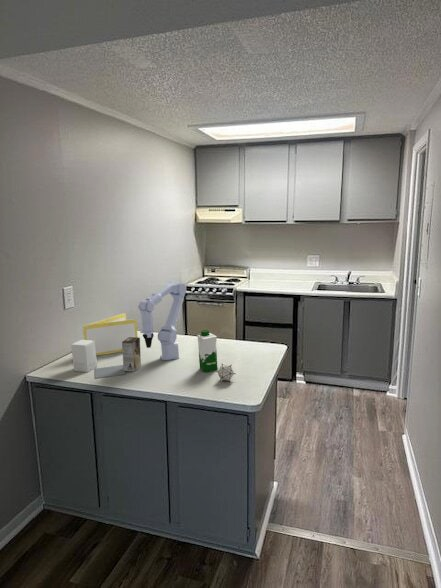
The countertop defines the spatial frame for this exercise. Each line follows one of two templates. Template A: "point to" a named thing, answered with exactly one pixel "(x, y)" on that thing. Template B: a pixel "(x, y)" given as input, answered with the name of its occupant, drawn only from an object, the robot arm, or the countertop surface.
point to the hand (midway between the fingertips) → (148, 347)
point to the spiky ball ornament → (225, 372)
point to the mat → (109, 371)
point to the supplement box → (84, 355)
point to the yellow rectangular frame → (110, 333)
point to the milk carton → (207, 351)
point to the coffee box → (131, 354)
